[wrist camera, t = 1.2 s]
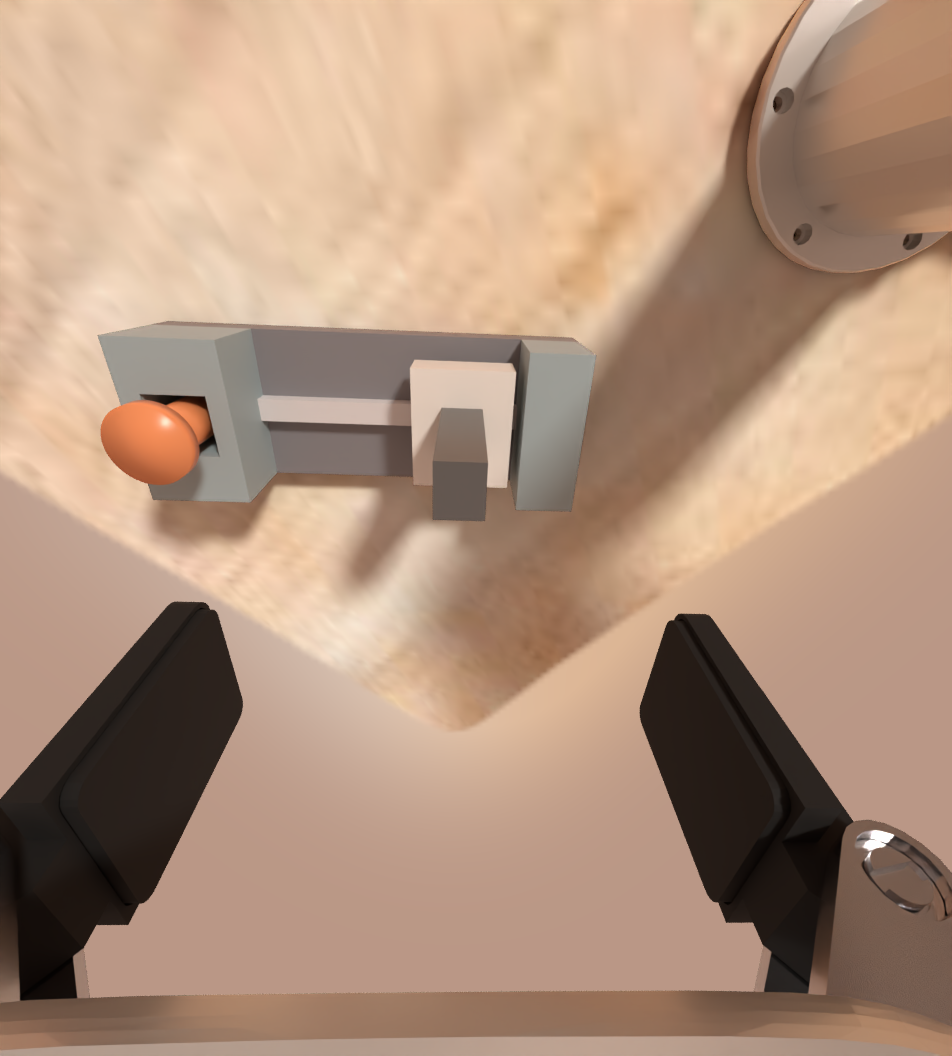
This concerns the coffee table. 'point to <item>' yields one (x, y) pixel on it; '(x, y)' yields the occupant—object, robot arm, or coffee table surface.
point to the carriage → (461, 432)
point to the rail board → (344, 401)
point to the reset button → (157, 438)
